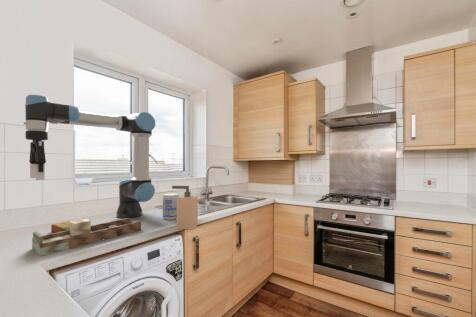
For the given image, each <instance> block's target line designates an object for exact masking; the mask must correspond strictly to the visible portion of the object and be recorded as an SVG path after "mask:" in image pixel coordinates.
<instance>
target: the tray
mask: <svg viewBox="0 0 476 317" xmlns="http://www.w3.org/2000/svg"><path fill="white" fill-rule="evenodd" d="M141 230H142V221H141V220H138V221H132V220H131V218H119V219H116V220H111V221H106V222H102V223H101V222H100V223H96V224H93V225H92V224H91V232H89V233H85V234H81V235H76V236H71V235H70V230H67V231H62V232H57V233H49V234H48V233H47V234H43V235H42V234H40V233H39V232H38V231H33V232H32V238H31V239H32V241H31V242H32V243H31V245H32V250H33V251H34V252H35V253H36V254H37V255H38V256H39V257H43V256H46V255H51V254H55V253H59V252H64V251H66V250H70V249H74V248H78V247H82V246H85V245H89V244H92V243H93V244H94V243H97V242H100V240H101V241H104V240H103V239H105V240H108V239H107V238H109V239H112V238H111V237H113V238H116V237H120V236H124V235H128V234H132V233H135V232H139V231H141ZM115 236H116V237H115Z"/></svg>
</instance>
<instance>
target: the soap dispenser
mask: <svg viewBox="0 0 476 317" xmlns="http://www.w3.org/2000/svg"><path fill="white" fill-rule="evenodd" d="M171 188H172V189H173V190H185V191H184V193H183V194H184V195H181V196H180V195H179V197H178V198H177V218H176V229H177V230H184V231H185V230H188V231H189V230H191V231H192V230H194V229H195V228H196V227H197V226H198V220H199V219H198V218H199V217H198V215H199V212H198V210H199V208H198V207H199V206H198V202H199V201H198V200H199V198H198V197H199V196H198V195H191V193H192V192H191V191H190V185H172V186H171Z"/></svg>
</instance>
